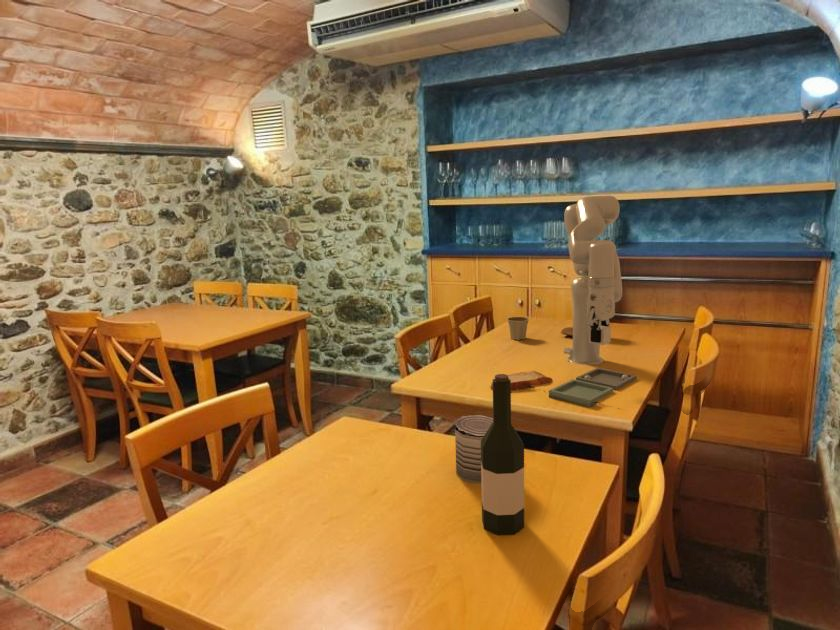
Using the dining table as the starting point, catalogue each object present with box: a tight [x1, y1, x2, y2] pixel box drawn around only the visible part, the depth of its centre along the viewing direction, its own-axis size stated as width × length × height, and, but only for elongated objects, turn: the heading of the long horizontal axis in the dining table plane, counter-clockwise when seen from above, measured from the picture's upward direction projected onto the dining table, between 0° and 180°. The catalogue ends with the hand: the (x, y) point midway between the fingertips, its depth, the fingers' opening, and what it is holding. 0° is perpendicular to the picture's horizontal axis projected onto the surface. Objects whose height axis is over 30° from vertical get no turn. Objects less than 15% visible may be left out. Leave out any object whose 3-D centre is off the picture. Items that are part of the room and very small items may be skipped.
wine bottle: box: [480, 373, 525, 536], centre depth 112 cm, size 8×8×30 cm
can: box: [453, 414, 493, 485], centre depth 135 cm, size 11×11×12 cm
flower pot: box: [506, 316, 530, 341], centre depth 254 cm, size 9×9×9 cm
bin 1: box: [548, 378, 614, 408], centre depth 183 cm, size 14×14×2 cm
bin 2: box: [575, 367, 638, 391], centre depth 194 cm, size 14×14×3 cm
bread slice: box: [490, 370, 553, 391], centre depth 195 cm, size 18×18×4 cm
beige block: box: [589, 325, 612, 346], centre depth 186 cm, size 5×4×5 cm
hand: (599, 339), depth 186 cm, fingers closed on beige block, 4 cm apart
